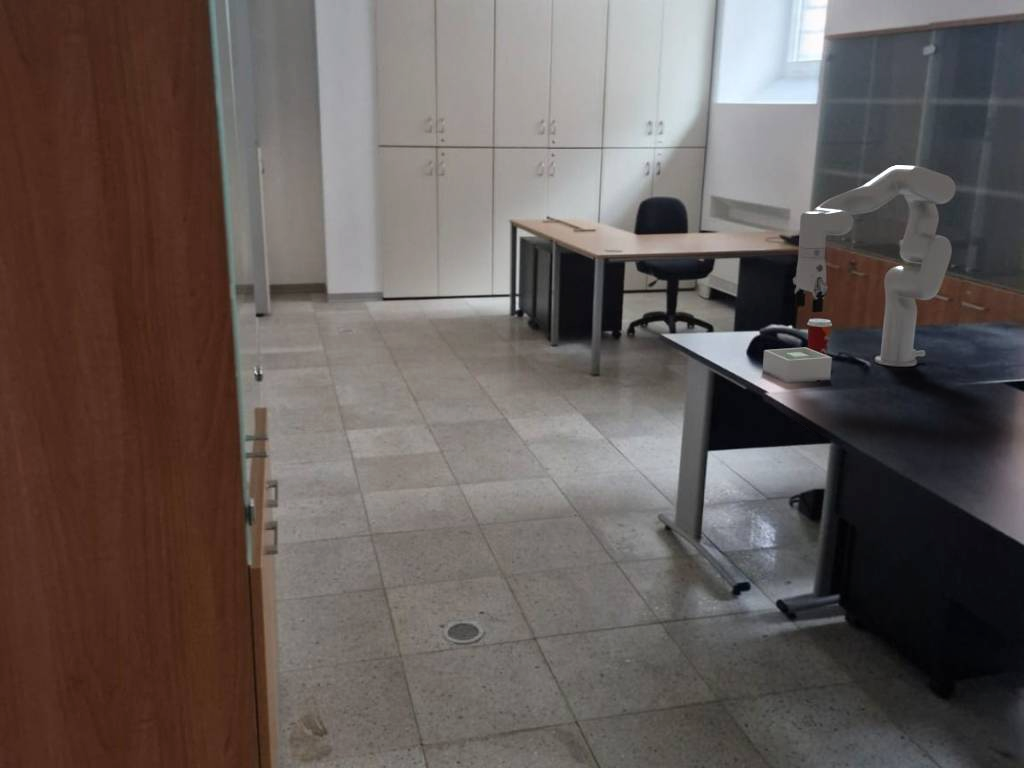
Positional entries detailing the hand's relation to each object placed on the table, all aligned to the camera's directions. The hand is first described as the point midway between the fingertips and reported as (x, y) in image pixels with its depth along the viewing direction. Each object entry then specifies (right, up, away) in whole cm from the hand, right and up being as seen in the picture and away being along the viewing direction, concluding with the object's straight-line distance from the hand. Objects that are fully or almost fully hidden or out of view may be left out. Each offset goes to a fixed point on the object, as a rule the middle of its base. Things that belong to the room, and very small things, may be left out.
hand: (808, 309), depth 275 cm
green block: (-2, -20, +4) cm, 20 cm away
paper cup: (+10, -16, +21) cm, 28 cm away
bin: (-2, -20, +4) cm, 21 cm away
